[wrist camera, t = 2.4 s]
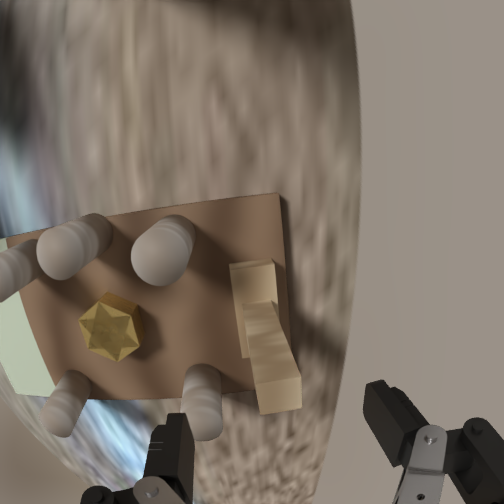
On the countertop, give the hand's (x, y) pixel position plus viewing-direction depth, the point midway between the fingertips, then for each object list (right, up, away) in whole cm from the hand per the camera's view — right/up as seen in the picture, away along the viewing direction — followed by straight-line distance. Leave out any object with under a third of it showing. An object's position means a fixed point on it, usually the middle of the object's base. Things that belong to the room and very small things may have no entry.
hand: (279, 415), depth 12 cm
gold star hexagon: (-12, +2, +10) cm, 16 cm away
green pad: (-24, 0, +10) cm, 26 cm away
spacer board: (-10, +2, +11) cm, 15 cm away
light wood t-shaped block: (-1, +3, +11) cm, 12 cm away
